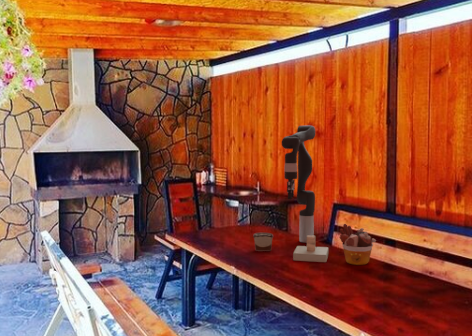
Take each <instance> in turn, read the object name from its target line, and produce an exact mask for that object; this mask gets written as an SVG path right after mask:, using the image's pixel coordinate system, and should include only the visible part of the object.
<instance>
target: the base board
mask: <svg viewBox="0 0 472 336" xmlns="http://www.w3.org/2000/svg"><path fill="white" fill-rule="evenodd" d="M292 257H293V258H292V259H293V260H292V261H301V262H315V263H316V262H318V263H327V260H328V257H329V247H327V246H315V251H307V245H306V246H305V245H297V246H296V248H295V249H294V251H293V254H292Z"/></svg>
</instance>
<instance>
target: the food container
mask: <svg viewBox="0 0 472 336" xmlns="http://www.w3.org/2000/svg"><path fill="white" fill-rule="evenodd" d="M252 238H253V240H254V249H255V251H256V252H257V251H258V252H263V251H264V252H265V251H266V252H270V251H272V245H273V238H274V234H273V233H270V232H255V233H253V236H252Z"/></svg>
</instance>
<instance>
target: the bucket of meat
mask: <svg viewBox="0 0 472 336" xmlns="http://www.w3.org/2000/svg"><path fill="white" fill-rule="evenodd" d="M342 226H343V228H340V229H339V232H340V236H339V239H340V241H341V243H342V249H343V253H344V258H345V261H346V263H347V264H350V265H353V266H365V265H367V264H368V263H369V262H370V258H371V254H372V251H373V246H374V243H376V241H377V240H376V239H375V238H372V237H371V236H370V235H369V233H368V232H367V231H364V228H361V227H360V228H359V229H357V231H356V232H355V233H354V232H353V229H352V226H351V225H347V224H346V223H344V224H343V225H342Z"/></svg>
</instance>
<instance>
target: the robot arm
mask: <svg viewBox="0 0 472 336" xmlns="http://www.w3.org/2000/svg"><path fill="white" fill-rule="evenodd" d="M315 136H316V128H315V126H313V125H311V124H310V125H309V124H307V125H299V126H297V130H296V132H295V133H293V134H292V135H291V134H290V135H287V136H284V137H283V138H282V140H281V146H282V148H283V149H285V150H292V151H291V152H287V153H285V154H284V169H283V170H284V171H283V172H284V173H283V174H284V179H285V180H287V181H286V192H287V200H292V199H293V198H294V196H295V194H294V193H295V192H294V191H295V183H296V182H295V181H296V180H297V188H296V201H297V203H298V204H299V205H305V208H304V209H300V210H299V212H298V213H299V214H298V215H299V216H298V217H299V222H298V223H299V227H298V229H299V235H298V236H299V242H300V243H306V244H307V235H311V236H315V235H314V234H315V233H314V230H315V227H314V226H315V224H314V223H315V221H314V218H315V215H314V213H315V205H316V193H315V192H314V191H312V190H306V183H307V181H308V179H309V178H310V176H311V174H312V172H313V160H312V156H311V155H310V153H309V151H308V150H307V149H306V147H305V142H306V141H311V140H313V139H314V138H315Z"/></svg>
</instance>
